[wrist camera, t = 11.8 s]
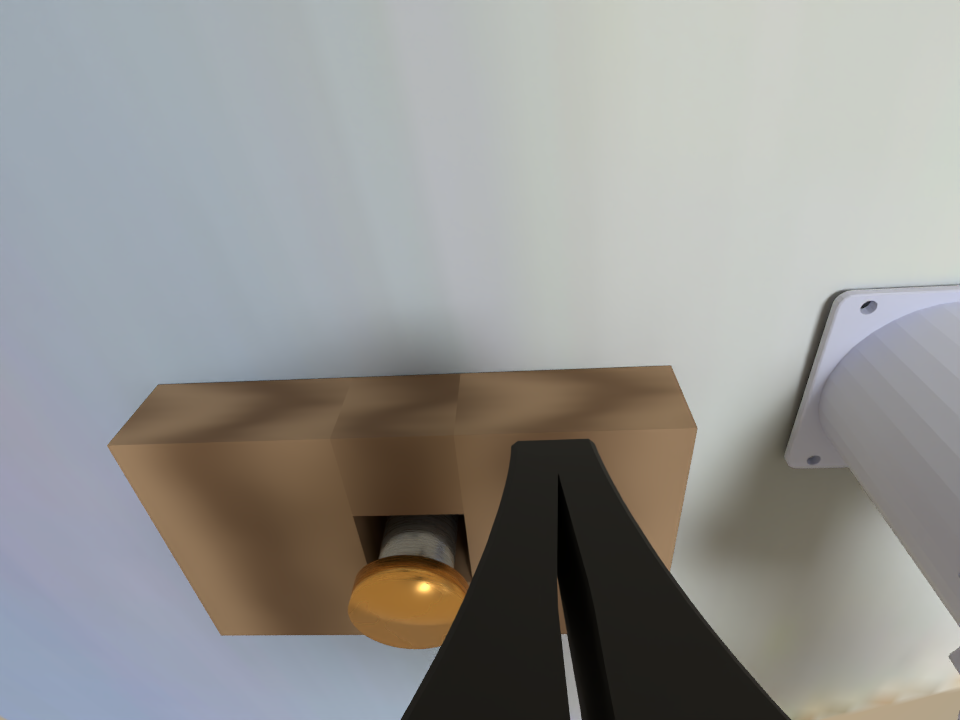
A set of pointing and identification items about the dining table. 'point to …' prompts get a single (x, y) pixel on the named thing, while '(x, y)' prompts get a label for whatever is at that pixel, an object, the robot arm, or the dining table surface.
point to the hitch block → (376, 474)
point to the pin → (410, 583)
